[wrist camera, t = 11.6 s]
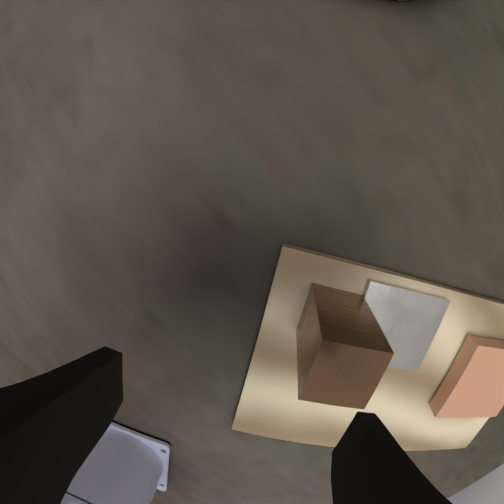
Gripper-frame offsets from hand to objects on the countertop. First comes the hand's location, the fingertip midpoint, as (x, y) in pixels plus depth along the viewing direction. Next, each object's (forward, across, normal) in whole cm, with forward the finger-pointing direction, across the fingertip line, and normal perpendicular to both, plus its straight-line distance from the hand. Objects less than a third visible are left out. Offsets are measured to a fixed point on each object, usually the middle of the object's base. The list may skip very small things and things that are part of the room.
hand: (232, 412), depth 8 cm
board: (+10, -12, +4) cm, 16 cm away
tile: (+8, -14, +2) cm, 16 cm away
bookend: (+9, -7, 0) cm, 11 cm away
